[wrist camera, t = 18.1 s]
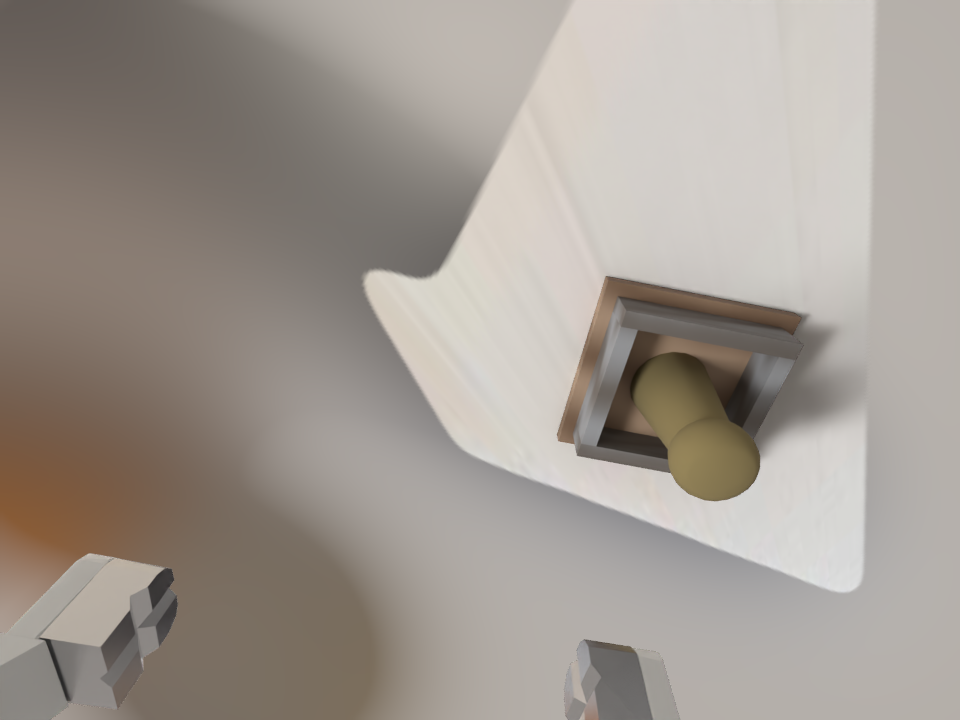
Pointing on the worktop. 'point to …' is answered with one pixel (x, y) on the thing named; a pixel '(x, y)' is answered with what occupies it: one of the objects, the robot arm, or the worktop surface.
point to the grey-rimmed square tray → (662, 329)
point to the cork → (694, 427)
